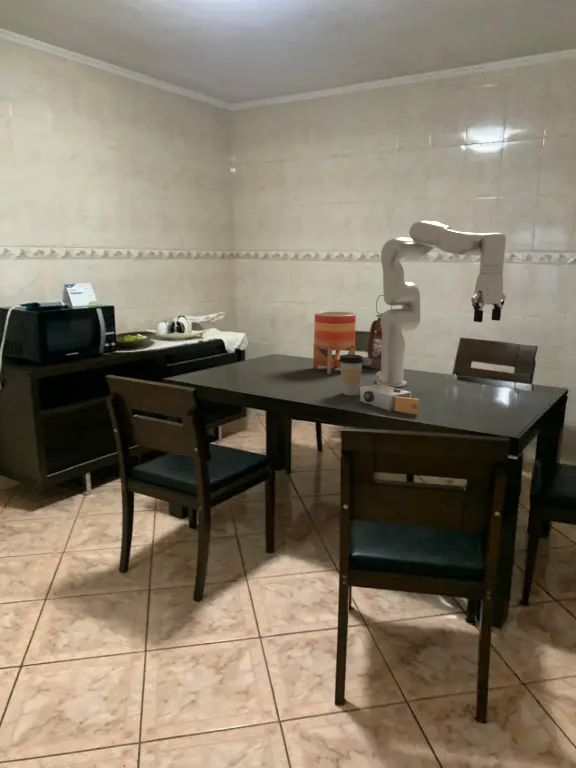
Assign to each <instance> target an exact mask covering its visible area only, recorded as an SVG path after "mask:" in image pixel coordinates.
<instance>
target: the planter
mask: <svg viewBox="0 0 576 768" xmlns="http://www.w3.org/2000/svg"><path fill="white" fill-rule="evenodd" d="M356 316H357V314H356V313H355V312H350V311H319V312H315V313H314V322H313V323H314V327H313V329H314V330H313V331H314V333H313V362H312V363H313V365H312V366H313V367H312V369H313V370H318V369H319V366H325V367H327V370H326V372H327V374H328V375H331V374H332V369H333V368H335V367H336V368H341V362H340V361H339V360H340V358H341V351H345V350H349V351H348V353H347V354H346V355H349V354H351V355H356V345H355V343H356V320H357V317H356ZM321 349H322V350H326V351H327V356H325V354H323V353H322V351H321ZM333 351H335V353H334V357H333Z"/></svg>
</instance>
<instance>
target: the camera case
mask: <svg viewBox="0 0 576 768" xmlns="http://www.w3.org/2000/svg"><path fill="white" fill-rule="evenodd" d="M359 389H360V390H359V402H361V403H364V404H367V405H370V404H371V405H370V406H374V407H376V406H377V407H376V408H379V407H380V409H382V408H383V409H382V410H385V409H386V411H388V410H389V411H388V412H391V411H392V396H395V397H405V398H412V392H411V391H408V390H405V389H401V388H399V387H390V386H387V385H383V384H377V383H376V384H369V385H363V386H359Z"/></svg>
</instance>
